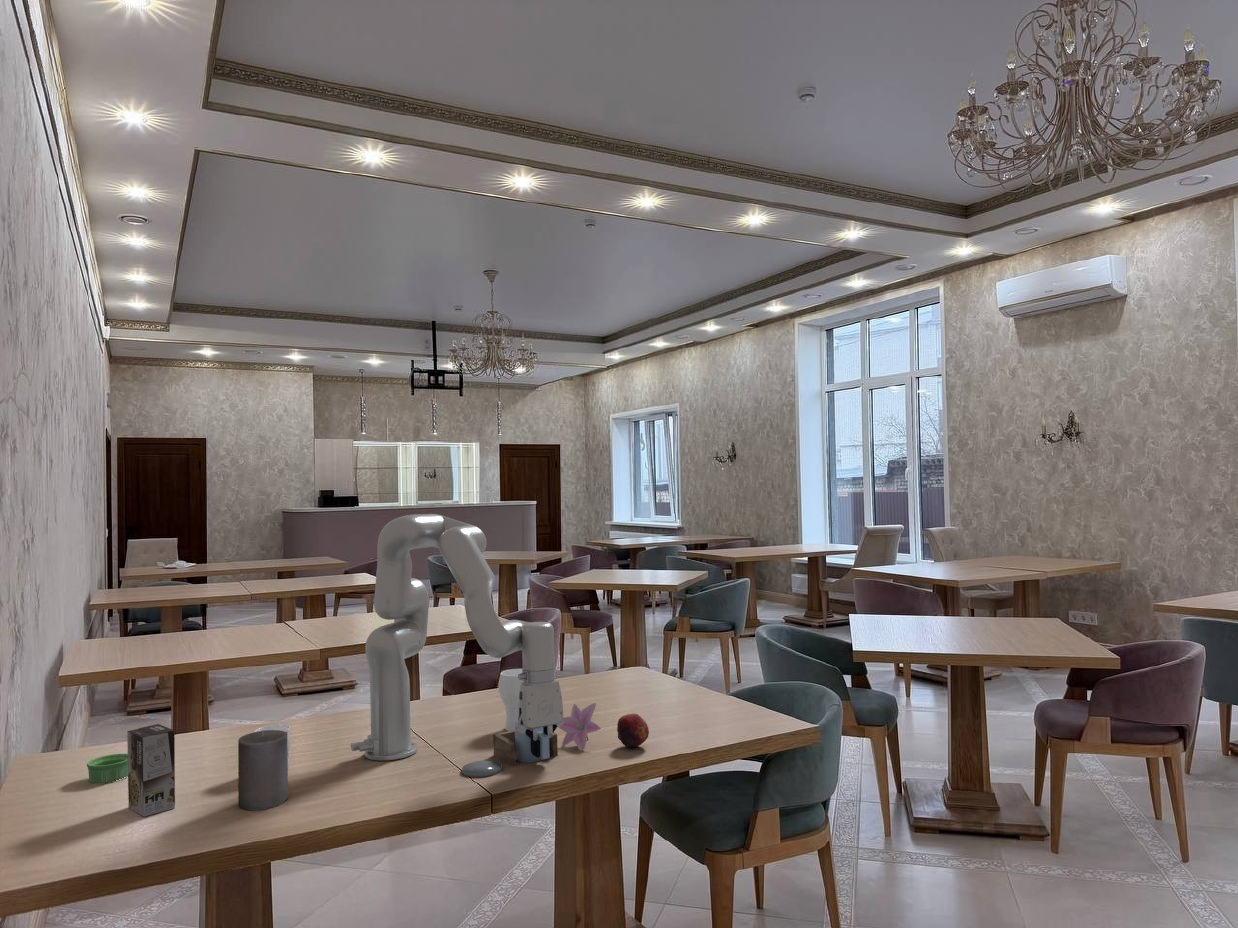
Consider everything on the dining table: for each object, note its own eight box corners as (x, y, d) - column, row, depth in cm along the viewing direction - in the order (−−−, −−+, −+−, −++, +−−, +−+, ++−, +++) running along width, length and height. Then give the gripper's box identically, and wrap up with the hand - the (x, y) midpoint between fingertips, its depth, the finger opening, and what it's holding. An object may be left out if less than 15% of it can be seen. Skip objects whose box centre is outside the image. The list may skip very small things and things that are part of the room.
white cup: (251, 780, 187) (251, 735, 188) (257, 769, 195) (256, 726, 195) (288, 776, 190) (288, 732, 190) (292, 765, 197) (292, 723, 197)
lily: (553, 743, 212) (544, 715, 208) (590, 718, 217) (582, 691, 213) (578, 769, 203) (569, 740, 199) (616, 742, 208) (609, 714, 204)
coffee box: (176, 808, 171) (175, 729, 172) (142, 817, 167) (142, 737, 167) (160, 798, 177) (159, 722, 178) (127, 807, 173) (126, 729, 173)
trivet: (471, 779, 183) (471, 776, 183) (456, 769, 191) (456, 765, 191) (508, 771, 188) (508, 767, 188) (492, 761, 196) (492, 757, 196)
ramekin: (92, 775, 194) (92, 756, 195) (135, 769, 198) (135, 751, 198) (82, 787, 186) (82, 767, 186) (128, 781, 189) (127, 762, 189)
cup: (536, 733, 218) (535, 675, 218) (496, 734, 218) (495, 676, 218) (541, 722, 228) (539, 667, 229) (503, 722, 229) (501, 668, 229)
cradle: (510, 765, 192) (510, 743, 192) (493, 755, 200) (493, 734, 201) (557, 755, 199) (557, 734, 199) (539, 745, 207) (538, 725, 207)
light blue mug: (532, 770, 189) (532, 735, 189) (510, 756, 199) (509, 722, 199) (559, 764, 193) (558, 729, 193) (536, 750, 202) (535, 717, 203)
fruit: (654, 744, 205) (653, 712, 205) (639, 753, 198) (638, 720, 198) (627, 740, 209) (626, 709, 209) (611, 749, 202) (610, 716, 202)
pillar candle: (231, 802, 174) (230, 730, 174) (277, 789, 181) (276, 720, 181) (249, 814, 167) (248, 740, 167) (296, 801, 174) (295, 729, 174)
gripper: (515, 683, 186) (517, 766, 185) (576, 673, 195) (578, 752, 194) (501, 677, 192) (503, 757, 192) (560, 668, 201) (562, 744, 200)
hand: (540, 754), depth 193 cm, fingers closed on light blue mug
